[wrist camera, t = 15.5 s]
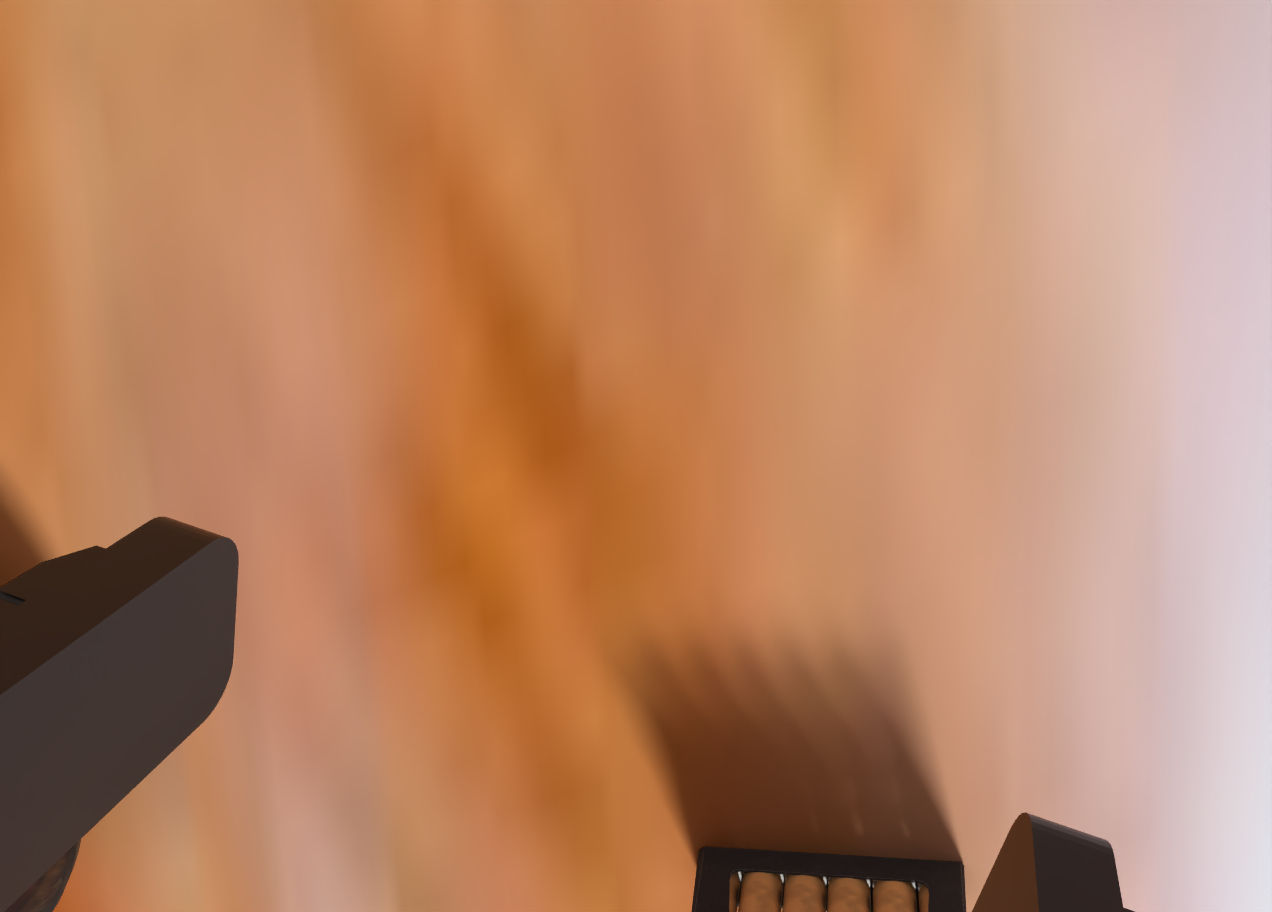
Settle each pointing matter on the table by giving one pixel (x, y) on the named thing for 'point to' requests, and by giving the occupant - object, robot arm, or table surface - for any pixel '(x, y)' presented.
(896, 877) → the ammunition clip
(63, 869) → the ceramic jug
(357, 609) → the table surface
